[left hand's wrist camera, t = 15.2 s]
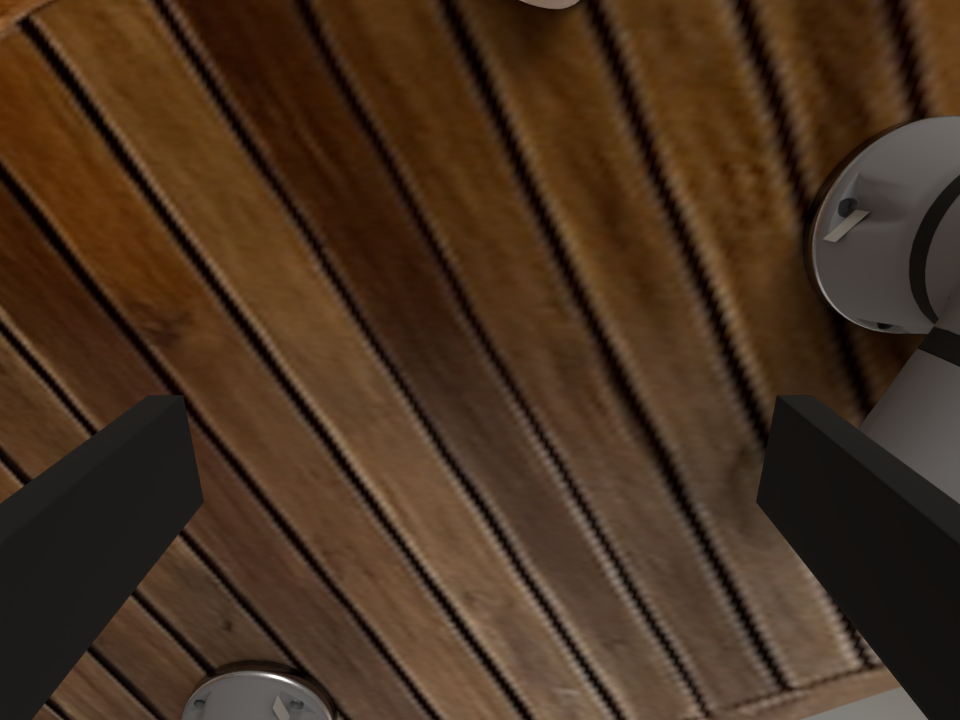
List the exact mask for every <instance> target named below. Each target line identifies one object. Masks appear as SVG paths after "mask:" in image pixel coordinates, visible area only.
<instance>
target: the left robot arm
mask: <svg viewBox="0 0 960 720" xmlns="http://www.w3.org/2000/svg"><path fill="white" fill-rule="evenodd" d="M804 262H805V267H806V271H807V274H808V278H809V280H810V283H811V285H812V287H813V289H814V290H815V292H816V294H817V295H818V297H819V298H820V299H821V300H822V302H823V303H824V304H825V305H826V306H827V307H828V308H829V309H831V310H832V311H833V312H835V313H836V314H838V315H839V316H841V317H842V318H845V319H847V320H849V321H851V322H853V323H856V324H858V325H860V326H862V327H865V328H868V329H871V330H875V331H880V332H887V333H898V334H910V333H913V334H925V339H924V340H923V342H922V343H921V344H920V346H919V347H918V348H917V349H916V350H915V352H914V353H913V354H912V356H911V357H910V358H909V360H908V361H907V363H906V364H905V365H904V367H903V368H902V369H901V371H900V372H899V374H898V375H897V376H896V378H895V379H894V381H893V382H892V383H891V385H890V386H889V387H888V389H887V390H886V392H885V393H884V394H883V396H882V397H881V398H880V400H879V401H878V403H877V404H876V405H875V407H874V408H873V409H872V411H871V412H870V413H869V415H868V416H867V417H866V419H865V420H864V421H863V423H862V424H861V425H860V426H859V428H858V429H857V428H855V427H854V426H853V425H851V424H850V423H849V422H847V421H846V420H845V419H843V418H842V417H840V416H839V415H838V414H836V413H835V412H834V411H832V410H831V409H829V408H828V407H827V406H825V405H824V404H823V403H821V402H820V401H819V400H817V399H816V398H814V397H813V396H812V395H777V398H776V403H775V408H774V413H773V419H772V424H771V429H770V434H769V439H768V444H767V449H766V454H765V459H764V464H763V469H762V475H761V480H760V485H759V490H758V495H757V500H756V502H757V504H758V505H759V506H760V507H761V509H762V510H763V511H764V513H765V514H766V515H767V516H768V518H769V519H770V520H771V521H772V523H773V524H774V525H775V526H776V528H777V529H778V530H779V532H780V533H781V534H782V535H783V537H784V538H785V539H786V540H787V542H788V543H789V544H790V545H791V547H792V548H793V549H794V550H795V552H796V553H797V554H798V556H799V557H800V558H801V559H802V561H803V562H804V563H805V564H806V566H807V567H808V568H809V569H810V571H811V572H812V573H813V574H814V576H815V577H816V578H817V580H818V581H819V582H820V583H821V585H822V586H823V587H824V588H825V590H826V591H827V592H828V593H829V595H830V596H831V597H832V599H833V600H834V601H835V602H836V604H837V605H838V606H839V607H840V609H841V610H842V611H843V612H844V614H845V615H846V616H847V617H848V619H849V620H850V621H851V623H852V624H853V625H854V626H855V628H856V629H857V630H858V631H859V633H860V634H861V635H862V636H863V638H864V639H865V640H866V641H867V643H868V644H869V645H870V647H871V648H872V649H873V650H874V652H875V653H876V654H877V655H878V657H879V658H880V659H881V660H882V662H883V663H884V664H885V666H886V667H887V668H888V669H889V671H890V672H891V673H892V674H893V676H894V677H895V678H896V679H897V681H898V682H899V683H900V684H901V686H902V687H903V688H904V689H905V691H906V692H907V693H908V695H909V696H910V697H911V698H912V700H913V701H914V702H915V703H916V705H917V706H918V707H919V708H920V710H921V711H922V712H923V714H924V715H925V716H926V717H927V719H928V720H960V116H938V117H926V118H919V119H914V120H909V121H906V122H902V123H899V124H897V125H894V126H892V127H889V128H887V129H885V130H883V131H881V132H879V133H877V134H875V135H874V136H872V137H870V138H869V139H867V140H866V141H865V142H863V143H862V144H860V145H859V146H858V147H856V148H855V149H854V150H853V151H852V152H851V153H849V154H848V155H847V156H846V157H845V158H844V159H843V160H842V161H841V162H840V163H839V165H838V166H837V167H836V168H835V169H834V170H833V172H832V173H831V174H830V176H829V177H828V178H827V180H826V181H825V183H824V185H823V186H822V188H821V189H820V191H819V193H818V195H817V197H816V199H815V201H814V203H813V206H812V208H811V211H810V214H809V217H808V220H807V225H806V229H805V236H804ZM939 357H940V358H939ZM941 358H942V359H941ZM943 359H944V360H943ZM945 360H946V361H945ZM947 361H948V362H947ZM950 362H951V363H950ZM952 363H953V364H952ZM954 364H955V365H954ZM956 365H957V366H956ZM203 502H204V500H203V495H202V490H201V485H200V480H199V475H198V469H197V464H196V459H195V454H194V449H193V444H192V439H191V434H190V429H189V424H188V419H187V413H186V408H185V403H184V398H183V395H148V396H147V397H146V398H144V399H143V400H141V401H140V402H139V403H137V404H136V405H135V406H133V407H132V408H131V409H129V410H128V411H126V412H125V413H124V414H122V415H121V416H120V417H118V418H117V419H115V420H114V421H113V422H111V423H110V424H109V425H107V426H106V427H105V428H103V429H102V430H100V431H99V432H98V433H96V434H95V435H94V436H92V437H91V438H90V439H88V440H87V441H85V442H84V443H83V444H81V445H80V446H79V447H77V448H76V449H74V450H73V451H72V452H70V453H69V454H68V455H66V456H65V457H64V458H62V459H61V460H59V461H58V462H57V463H55V464H54V465H53V466H51V467H50V468H49V469H47V470H46V471H44V472H43V473H42V474H40V475H39V476H38V477H36V478H35V479H33V480H32V481H31V482H29V483H28V484H27V485H25V486H24V487H23V488H21V489H20V490H18V491H17V492H16V493H14V494H13V495H12V496H10V497H9V498H7V499H6V500H5V501H3V502H2V503H1V504H0V720H32V719H33V717H34V716H35V715H36V714H37V712H38V711H39V710H40V708H41V707H42V706H43V705H44V703H45V702H46V701H47V700H48V698H49V697H50V696H51V695H52V693H53V692H54V691H55V690H56V688H57V687H58V686H59V684H60V683H61V682H62V681H63V679H64V678H65V677H66V676H67V674H68V673H69V672H70V671H71V669H72V668H73V667H74V666H75V664H76V663H77V662H78V660H79V659H80V658H81V657H82V655H83V654H84V653H85V652H86V650H87V649H88V648H89V647H90V645H91V644H92V643H93V641H94V640H95V639H96V638H97V636H98V635H99V634H100V633H101V631H102V630H103V629H104V628H105V626H106V625H107V624H108V623H109V621H110V620H111V619H112V617H113V616H114V615H115V614H116V612H117V611H118V610H119V609H120V607H121V606H122V605H123V604H124V602H125V601H126V600H127V599H128V597H129V596H130V595H131V593H132V592H133V591H134V590H135V588H136V587H137V586H138V585H139V583H140V582H141V581H142V580H143V578H144V577H145V576H146V574H147V573H148V572H149V571H150V569H151V568H152V567H153V566H154V564H155V563H156V562H157V561H158V559H159V558H160V557H161V556H162V554H163V553H164V552H165V550H166V549H167V548H168V547H169V545H170V544H171V543H172V542H173V540H174V539H175V538H176V537H177V535H178V534H179V533H180V532H181V530H182V529H183V528H184V526H185V525H186V524H187V523H188V521H189V520H190V519H191V518H192V516H193V515H194V514H195V513H196V511H197V510H198V509H199V507H200V506H201V505H202V504H203Z"/></svg>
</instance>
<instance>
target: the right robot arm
mask: <svg viewBox="0 0 960 720" xmlns="http://www.w3.org/2000/svg"><path fill="white" fill-rule="evenodd" d="M182 720H337V713H336V709H335V706H334V704H333V701H332V700H331V698H330V696H329V695H328V693H327V692H326V691H325V690H324V689H323V688H322V687H321V686H320V685H319V684H318V683H317V682H316V681H315V680H313V679H312V678H311V677H309V676H307V675H306V674H304V673H302V672H300V671H298V670H296V669H294V668H291V667H288V666H285V665H282V664H278V663H273V662H267V661H241V662H235V663H231V664H227V665H224V666H222V667H219V668H217V669H215V670H213V671H212V672H210V673H209V674H207V675H206V676H205V677H204V678H203V679H202V680H201V681H200V682H199V683H198V684H197V686H196V687H195V689H194V691H193V693H192V695H191V696H190V698H189V700H188V702H187V704H186V706H185V708H184V711H183V715H182Z"/></svg>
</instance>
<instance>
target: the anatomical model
mask: <svg viewBox="0 0 960 720" xmlns="http://www.w3.org/2000/svg"><path fill="white" fill-rule="evenodd" d="M520 1H523V2H525V3H528V4H531V5H535V6H538V7H543V8H549V9H563V8H567V7H570V6H572V5H574V4H576V3H577V2H578V1H579V0H520Z"/></svg>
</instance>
